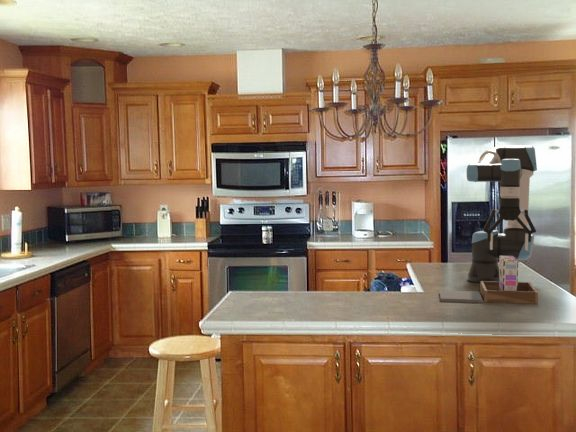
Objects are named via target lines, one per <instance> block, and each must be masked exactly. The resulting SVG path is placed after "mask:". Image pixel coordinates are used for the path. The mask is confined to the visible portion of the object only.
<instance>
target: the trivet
mask: <svg viewBox="0 0 576 432" xmlns="http://www.w3.org/2000/svg"><path fill="white" fill-rule="evenodd" d="M439 299H440V302H445V303H446V302H447V303H471V302H478V304H482V303H483V297H482V294H481V292H480V291H477V290H476V291H474V290H472V291H468V290H441V289H440V290H439Z"/></svg>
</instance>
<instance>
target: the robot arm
mask: <svg viewBox="0 0 576 432" xmlns="http://www.w3.org/2000/svg"><path fill="white" fill-rule="evenodd" d="M536 156H537V155H536V148H535V147H534V146H531V145H506V146H505V145H500V146H495V147H492V148H489V149H488V150H485V151H484V152H482V154H481V155H480V157H479V158H478V159H479V160H478V162H477V163H470V164H468V165H467V166H466V179H467V180H466V181H468V182H473V183H480V182H481V183H483V182H484V183H485V182H486V183H487V182H488V183H491V182H492V183H493V182H494V183H495V182H496V183H500V189H499V195H500V198H499V209H494V208H492V209H491V212H490V216H488V219H487V221H486V223H485V225H484V227H483V228H482V230H479V231H475V232H473V233H472V237H471V238H472V239H471V264H470V267H469V271H468V273H467V281H469V282H472V283H479V284H480V281H494V282H499V256H514V257H515V258H516V259H517V260H518V261H523V260H524V261H525V260H526V261H527V260H529V259H530V258H531V256H532V253H533V248H534V241H535V235H534V233H536V232H537V229H536V227H535V226H534V224H533V222H532V220H531V218H530V216H529V206H530V203H529V202H530V182H531V181H530V178H532V176H534V173H535V171H538V166H537V165H538V164H537V157H536ZM498 214H499V215H500V216H499V217H498V219H497V220H496V221H495V222H494V223H493V224H492V225H491V223H492V222H493V219H494V218H495V216H496V215H498ZM503 221H507V226H506V227H504V229H503V233H500V231H499V230H498V229H496V228H497V227H498V226H499V225H500V224H501V222H503ZM490 225H491V226H490ZM528 226H529V227H528Z"/></svg>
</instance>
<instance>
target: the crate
mask: <svg viewBox="0 0 576 432" xmlns="http://www.w3.org/2000/svg"><path fill="white" fill-rule="evenodd" d="M479 284H480V285H479V286H480V288H479V289H480V290H479V293H480V295H481V297H482V300H483V301H485V303H504V302H505V303H507V304H534V303H538V304H539V291H538V290H537V289H536V288H535V286H533V284H532V283H531V282H526V281H525V282H524V281H522V282H520V281H518V289H517V291H499V282H494V281H480V283H479Z"/></svg>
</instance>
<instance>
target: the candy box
mask: <svg viewBox="0 0 576 432" xmlns="http://www.w3.org/2000/svg"><path fill="white" fill-rule="evenodd" d="M498 266H499V291H517V289H518V282H519V281H518V280H519V260H517V259H516V258H515V257H514V256H499V259H498Z"/></svg>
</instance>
